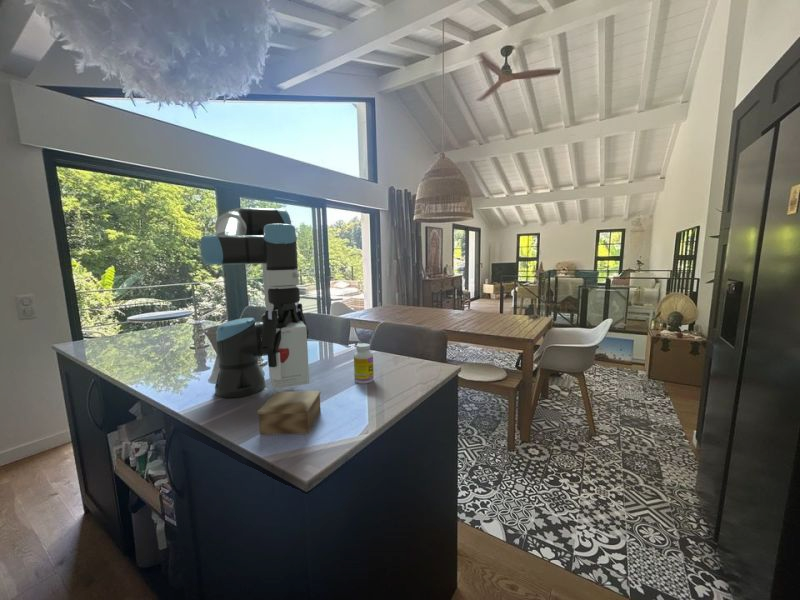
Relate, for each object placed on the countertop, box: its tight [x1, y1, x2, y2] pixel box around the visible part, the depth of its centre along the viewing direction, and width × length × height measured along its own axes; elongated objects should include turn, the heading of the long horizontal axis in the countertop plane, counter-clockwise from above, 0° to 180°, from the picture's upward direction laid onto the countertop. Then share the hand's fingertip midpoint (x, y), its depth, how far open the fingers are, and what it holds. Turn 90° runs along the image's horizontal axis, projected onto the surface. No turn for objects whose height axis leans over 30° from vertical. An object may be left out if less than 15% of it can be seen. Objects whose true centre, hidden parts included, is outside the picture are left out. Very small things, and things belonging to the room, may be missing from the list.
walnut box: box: [256, 390, 322, 435], centre depth 89 cm, size 12×12×6 cm
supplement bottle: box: [353, 342, 374, 385], centre depth 118 cm, size 7×7×13 cm
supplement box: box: [270, 321, 310, 390], centre depth 87 cm, size 9×9×15 cm
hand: (289, 370), depth 87 cm, fingers closed on supplement box, 12 cm apart
